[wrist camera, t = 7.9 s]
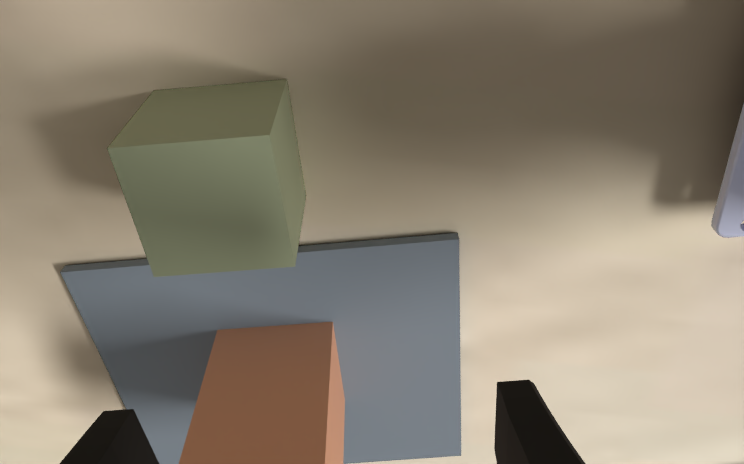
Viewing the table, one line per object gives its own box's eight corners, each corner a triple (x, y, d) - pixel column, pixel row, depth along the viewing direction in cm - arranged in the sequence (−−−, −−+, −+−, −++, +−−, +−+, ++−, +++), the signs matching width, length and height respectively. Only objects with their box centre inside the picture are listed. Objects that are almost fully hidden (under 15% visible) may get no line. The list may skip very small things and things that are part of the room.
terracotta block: (332, 321, 22) (324, 476, 17) (344, 399, 25) (340, 557, 19) (217, 329, 22) (172, 485, 17) (240, 406, 25) (207, 565, 20)
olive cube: (287, 78, 18) (270, 134, 14) (306, 194, 20) (295, 266, 17) (154, 89, 18) (107, 148, 14) (188, 203, 20) (153, 277, 17)
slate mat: (457, 232, 21) (458, 239, 20) (459, 448, 27) (460, 455, 27) (64, 265, 21) (60, 272, 21) (161, 468, 28) (158, 476, 28)
